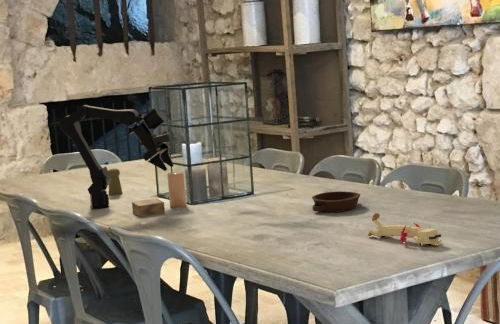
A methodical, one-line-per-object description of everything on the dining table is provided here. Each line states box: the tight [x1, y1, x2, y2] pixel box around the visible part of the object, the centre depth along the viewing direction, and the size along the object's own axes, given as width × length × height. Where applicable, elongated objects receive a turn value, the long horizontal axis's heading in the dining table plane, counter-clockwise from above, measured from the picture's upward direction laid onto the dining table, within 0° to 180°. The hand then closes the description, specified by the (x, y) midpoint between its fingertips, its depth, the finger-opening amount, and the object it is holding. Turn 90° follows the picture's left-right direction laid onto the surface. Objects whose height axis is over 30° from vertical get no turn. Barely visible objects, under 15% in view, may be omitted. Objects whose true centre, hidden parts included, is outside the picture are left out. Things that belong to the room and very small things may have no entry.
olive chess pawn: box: [107, 168, 123, 196], centre depth 379 cm, size 6×6×11 cm
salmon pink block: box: [167, 171, 187, 209], centre depth 343 cm, size 6×6×13 cm
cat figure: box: [367, 212, 443, 245], centre depth 266 cm, size 10×9×25 cm
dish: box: [311, 190, 361, 213], centre depth 320 cm, size 18×22×5 cm
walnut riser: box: [131, 198, 166, 217], centre depth 336 cm, size 10×10×4 cm
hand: (169, 168), depth 346 cm, fingers open, 9 cm apart
